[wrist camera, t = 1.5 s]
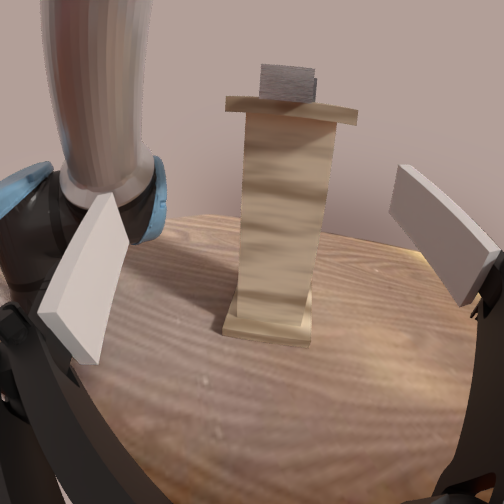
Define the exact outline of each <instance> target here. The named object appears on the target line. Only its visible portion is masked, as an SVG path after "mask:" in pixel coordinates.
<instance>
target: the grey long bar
mask: <svg viewBox="0 0 504 504" xmlns="http://www.w3.org/2000/svg"><path fill="white" fill-rule="evenodd" d="M314 75H315V69H312V68H303V67H294V66H283V65H269V64H261V77H260V91H259V99H268V100H280V101H290V102H300V103H308V104H312V102H314V103H315V97H316V86H317V78H314Z"/></svg>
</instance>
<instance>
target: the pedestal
mask: <svg viewBox="0 0 504 504" xmlns="http://www.w3.org/2000/svg"><path fill="white" fill-rule="evenodd" d="M225 111H227V112H246V124H245V141H244V161H243V182H242V203H241V204H242V205H241V224H240V248H239V273H238V284H237V287H236V290H235V293H234V295H233V298H232V301H231V304H230V307H229V310H228V313H227V316H226V319H225V322H224V325H223V327H222V335H223V336H228V337H234V338H240V339H246V340H252V341H259V342H265V343H272V344H279V345H287V346H295V347H303V348H309V346H310V343H311V309H312V281H311V278H312V274H313V269H314V264H315V259H316V254H317V248H318V243H319V238H320V232H321V227H322V221H323V215H324V210H325V204H326V197H327V191H328V185H329V178H330V172H331V164H332V158H333V150H334V143H335V134H336V126H337V122H338V123H344V124H349V125H355V126H356V125H357V116H358V110H354V109H350V108H346V107H341V106H336V105H329V104H323V103H316V102H315V103H314V102H312V104H308V103H300V102H290V101H280V100H268V99H259V97H253V96H252V97H251V96H226V105H225Z"/></svg>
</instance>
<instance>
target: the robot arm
mask: <svg viewBox="0 0 504 504" xmlns="http://www.w3.org/2000/svg"><path fill="white" fill-rule="evenodd" d="M152 3H153V0H40V10H41V11H40V12H41V31H42V42H43V52H44V60H45V68H46V74H47V81H48V87H49V92H50V97H51V103H52V107H53V112H54V116H55V121H56V125H57V130H58V133H59V137H60V141H61V145H62V149H63V152H64V156H65V161H64V162H63V165H62V167H61V170H60V171H55V172H54V171H53V170H54V168H53V166H52V164H51V163H50V162H49V161H45V162H42V163H37V164H34V165H32V166H29V167H27V168H24V169H22V170H20V171H18V172H16V173H14V174H12V175H10V176H8V177H7V178H5V179H3V180H2V181H0V267H1V269H2V272H3V274H4V277H5V279H6V282H7V284H8V286H9V289H10V296H11V302H8V303H6V304H4V305H3V306H1V307H0V340H1V341H2V342H0V504H66V503H65V501H64V498H63V496H62V493H61V490H60V488H59V485H58V482H57V480H56V477H57V479H58V481H59V482H60V484H61V486H62V488H63V489H64V491H65V492H66V494H67V496H68V497H69V499H70V500H71V502H72V503H73V504H173V503H172V502H171V501H170V500H169V499H168V498H167V497H166V496H165V495H164V494H163V493H162V492H161V490H160V489H159V488H158V487H157V486H156V485H155V484H154V483H153V482H152V481H151V479H150V478H149V477H148V476H147V475H146V474H145V473H144V471H143V470H142V469H141V468H140V467H139V465H138V464H137V463H136V462H135V461H134V459H133V458H132V457H131V456H130V454H129V453H128V452H127V450H126V449H125V448H124V446H123V445H122V444H121V442H120V441H119V440H118V438H117V437H116V436H115V434H114V433H113V431H112V430H111V429H110V427H109V426H108V424H107V423H106V421H105V420H104V418H103V417H102V415H101V414H100V412H99V411H98V409H97V408H96V406H95V404H94V403H93V401H92V399H91V398H90V396H89V395H88V393H87V391H86V389H85V388H84V386H83V384H82V382H81V381H80V379H79V377H78V375H77V373H76V372H75V370H74V369H73V367H72V366H71V365H70V361H71V357H72V356H73V357H74V358H75V359H76V360H77V362H78V363H79V364H81V365H98V364H99V359H100V354H101V349H102V344H103V339H104V334H105V330H106V325H107V321H108V317H109V313H110V309H111V305H112V301H113V297H114V293H115V289H116V286H117V282H118V278H119V275H120V272H121V268H122V265H123V261H124V258H125V255H126V252H127V249H128V245H130V244H131V245H138V244H140V243H142V242H145V241H150V240H154V239H156V238H157V237H158V236H159V235H160V234H161V233H162V230H163V228H164V224H165V219H166V210H167V209H166V203H165V202H166V199H167V184H166V175H165V170H164V165H163V162H162V160H161V159H160V158H159V157H158V156H153V155H152V152H151V150H150V149H149V147H148V146H147V145H146V144H145V143H144V142H143V141H141V128H142V99H143V98H142V97H143V82H144V68H145V57H146V46H147V38H148V30H149V23H150V15H151V9H152ZM389 214H390V215H391V216H392V217H393V218H394V220H395V221H396V222H397V223H398V224H399V225H400V227H401V228H402V229H403V230H404V232H405V233H406V234H407V235H408V236H409V238H410V239H411V240H412V242H413V243H414V244H415V246H416V247H417V248H418V249H419V251H420V252H421V253H422V255H423V256H424V257H425V259H426V260H427V261H428V263H429V264H430V265H431V267H432V268H433V269H434V271H435V272H436V274H437V275H438V276H439V278H440V279H441V281H442V282H443V284H444V285H445V287H446V288H447V289H448V291H449V292H450V294H451V295H452V297H453V298H454V300H455V301H456V303H457V305H458V306H459V308H460V307H462V306H465V305H468V304H471V303H472V302H473V300H474V298H475V297H476V295H477V293H478V292H479V294H480V295H481V297H482V298H481V299H480V301H479V303H478V304H477V306H476V307H475V309H474V310H473V312H472V313H471V316H470V318H473V316H474V315H475V313H478V315H477V317H476V318H475V320H477V321H478V325H477V341H476V352H475V361H474V369H473V377H472V383H471V389H470V395H469V400H468V405H467V410H466V415H465V419H464V423H463V427H462V431H461V435H460V439H459V442H458V446H457V449H456V452H455V455H454V458H453V460H452V461H451V463H450V464H449V465H448V466H447V467H446V469H445V470H444V471H443V473H442V474H441V476H440V478H439V480H438V482H437V485H436V487H435V489H434V492H433V494H432V496H431V497H429V498H424V499H418V500H412V501H406V502H403V503H401V504H504V252H503V251H502V250H501V249H500V248H499V246H498V245H497V244H496V243H495V242H494V241H493V240H492V239H491V238H490V237H489V236H488V234H486V233H485V231H484V230H483V229H482V228H480V226H479V225H478V224H477V223H476V222H475V221H474V220H473V219H472V218H470V217H469V216H468V215H467V214H466V213H465V212H464V211H463V210H462V209H461V208H460V207H459V206H458V205H457V204H456V203H455V202H454V201H453V200H451V199H450V198H449V197H448V196H447V195H446V194H445V193H444V192H442V191H441V190H440V189H439V188H438V187H437V186H436V185H434V184H433V183H432V182H431V181H430V180H428V179H427V178H426V177H425V176H424V175H422V174H421V173H420V172H419V171H418V170H416V169H415V168H414V167H412V166H411V165H398V169H397V174H396V180H395V185H394V190H393V195H392V200H391V205H390V209H389ZM1 392H2V393H3V394H4V395H5V401H3V400H2V398H1ZM55 475H56V476H55ZM490 488H494V489H493V493H492V496H491V498H490V501H489V503H487V502H485V501H483V500H481V499H479V498H476V497H474V496H475V495H476V494H477V493H479V492H480V491H484V490H487V489H490Z"/></svg>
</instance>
